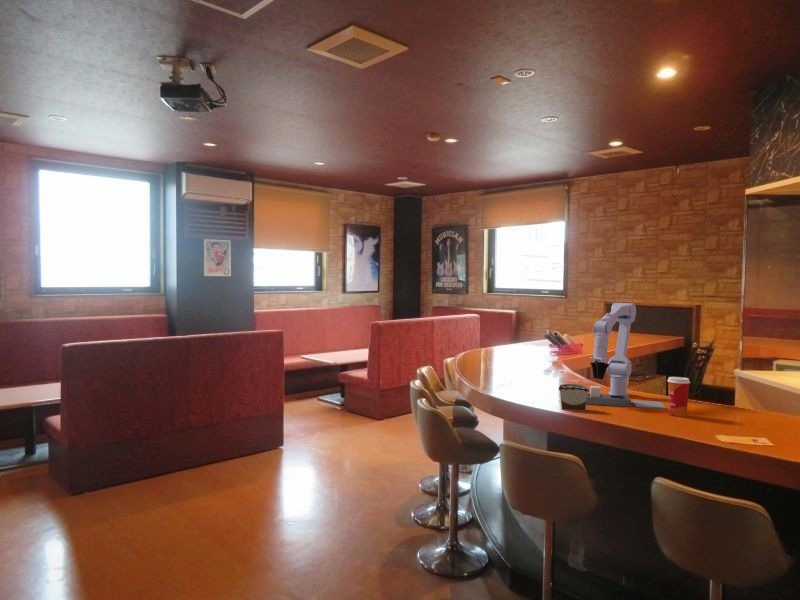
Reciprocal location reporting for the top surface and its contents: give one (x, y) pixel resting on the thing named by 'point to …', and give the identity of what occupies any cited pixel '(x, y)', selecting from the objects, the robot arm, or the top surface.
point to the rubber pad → (648, 404)
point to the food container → (573, 397)
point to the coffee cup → (678, 396)
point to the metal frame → (609, 400)
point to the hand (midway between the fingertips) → (598, 378)
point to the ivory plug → (595, 391)
